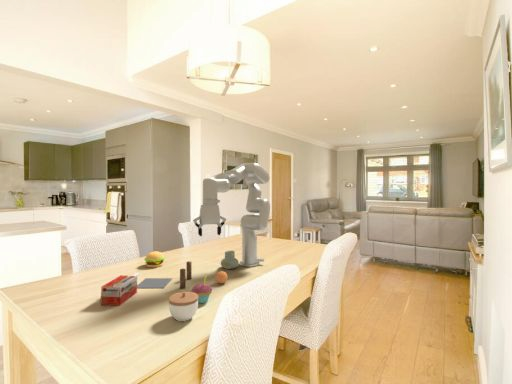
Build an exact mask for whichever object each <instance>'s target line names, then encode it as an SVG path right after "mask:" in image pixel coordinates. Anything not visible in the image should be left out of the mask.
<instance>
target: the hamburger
mask: <svg viewBox="0 0 512 384" xmlns="http://www.w3.org/2000/svg"><path fill="white" fill-rule="evenodd" d="M165 259H166V257H165V256H164V254H163V253H162V252H161V251H158V250H157V251H156V250H155V251H151V252H149V253H147V255H146V256H145V258H144V263H145V265H146V267H147V268H152V269H153V268H160V267H162V266H163V265H164V261H165Z"/></svg>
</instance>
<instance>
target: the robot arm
mask: <svg viewBox="0 0 512 384" xmlns="http://www.w3.org/2000/svg"><path fill="white" fill-rule="evenodd" d="M243 180H244V181H245V183H246V185H247V188H248V195H247V200H246V206H245V210H246V212H247V213H251V214H245V215H244V214H243V216H242V217H241V219H240V227H241V239H242V240H241V260H240V261H239V265H240V266H242V267H251V268H252V267H257V266H259V265H260V262H263V263H264V262H265V258H262V257H258V235H257V232H256V231H259V232H262V231H265V230H266V229H267V227H268V223H269V219H270V211H271V203H270V201H269V200H268V199H267V198H262V195H263V194H262V192H263V191H262V190H261V187H260V185H265V184H268V182H269V181H270V173H269V172H268V171H267V169H265V168H264V167H263V166H261V165H260V163H259V164H258V163H256V162H245V163H241V164H239V165H237V166H235V167H234V168H232V169H230V170H227V171H224V172H220V173H217V174H216V175H213V176H211V177H210V178H209V177H208V178H203V180H202V204H201V205H200V209H199V216H197V217H196V218H193V220H192V222H193V224H194V226H196V228H197V229H198V231H197V233H198V236H199V237H203V226H204V225H217V227H216V231H217V232H216V233H217V235H218V236H221V233H222V228H223V226H224V225H225V222H226V221H227V218H225V217H224V216H221V212H220V206H219V203H221V199H218V193H221V194H222V193H223V194H224V193H227V192H229V191H230V189H231V186H232V185H237V184H239V183H240V182H241V181H243ZM197 221H199V223H198V222H197Z"/></svg>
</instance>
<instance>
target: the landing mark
mask: <svg viewBox="0 0 512 384" xmlns="http://www.w3.org/2000/svg"><path fill="white" fill-rule="evenodd" d="M172 279H173V277H169V278H167V277H166V278H165V277H164V278H163V277H160V278H159V277H158V278H155V277H154V278H153V277H150V278H148V277H146V278H144V279H143V280H141V282H140V283H137V289H165V287H166V286H167V285H168V284H169V283H170V282H171V281H172Z"/></svg>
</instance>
